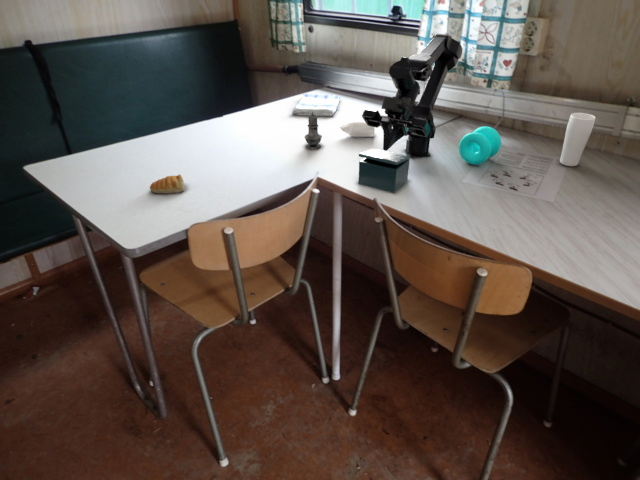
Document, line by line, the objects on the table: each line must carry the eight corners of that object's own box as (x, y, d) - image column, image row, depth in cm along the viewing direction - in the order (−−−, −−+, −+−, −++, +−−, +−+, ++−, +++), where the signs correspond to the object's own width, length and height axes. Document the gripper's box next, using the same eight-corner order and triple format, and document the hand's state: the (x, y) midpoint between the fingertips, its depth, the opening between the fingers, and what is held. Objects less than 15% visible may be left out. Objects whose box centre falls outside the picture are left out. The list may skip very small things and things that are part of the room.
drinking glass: (580, 161, 143) (595, 114, 135) (580, 169, 138) (596, 120, 130) (556, 157, 146) (570, 111, 138) (556, 166, 141) (570, 117, 132)
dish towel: (291, 115, 185) (291, 108, 183) (302, 98, 204) (302, 92, 203) (333, 117, 182) (333, 110, 181) (341, 99, 202) (341, 93, 200)
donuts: (455, 161, 145) (459, 130, 139) (470, 151, 151) (475, 122, 145) (484, 169, 139) (490, 138, 133) (499, 159, 145) (505, 129, 140)
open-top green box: (394, 193, 127) (396, 170, 123) (358, 183, 132) (359, 161, 128) (407, 181, 133) (409, 159, 129) (372, 172, 138) (373, 151, 134)
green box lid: (396, 165, 122) (396, 162, 121) (358, 156, 127) (358, 153, 127) (409, 159, 129) (410, 156, 129) (373, 151, 134) (373, 148, 134)
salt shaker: (320, 150, 153) (319, 115, 147) (303, 149, 154) (301, 114, 148) (323, 144, 158) (323, 109, 152) (306, 143, 159) (305, 108, 153)
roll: (339, 133, 167) (339, 118, 164) (372, 133, 167) (373, 118, 164) (340, 139, 162) (340, 123, 159) (374, 139, 162) (374, 123, 159)
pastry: (151, 197, 126) (148, 184, 124) (150, 187, 132) (147, 175, 130) (186, 192, 129) (183, 179, 127) (184, 182, 134) (181, 170, 132)
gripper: (366, 79, 126) (345, 130, 124) (431, 88, 117) (409, 143, 115) (377, 100, 135) (358, 148, 134) (438, 110, 127) (418, 161, 125)
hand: (384, 149), depth 127 cm, fingers closed
